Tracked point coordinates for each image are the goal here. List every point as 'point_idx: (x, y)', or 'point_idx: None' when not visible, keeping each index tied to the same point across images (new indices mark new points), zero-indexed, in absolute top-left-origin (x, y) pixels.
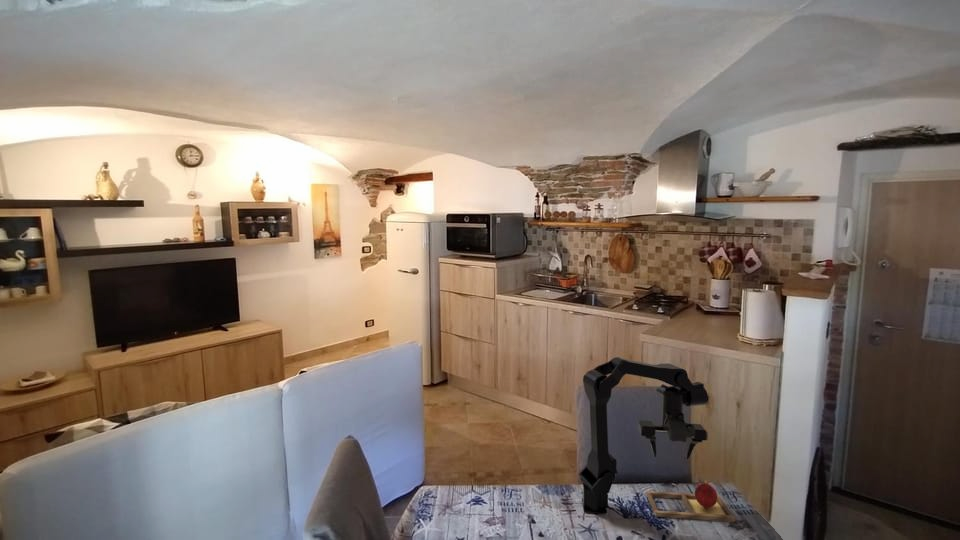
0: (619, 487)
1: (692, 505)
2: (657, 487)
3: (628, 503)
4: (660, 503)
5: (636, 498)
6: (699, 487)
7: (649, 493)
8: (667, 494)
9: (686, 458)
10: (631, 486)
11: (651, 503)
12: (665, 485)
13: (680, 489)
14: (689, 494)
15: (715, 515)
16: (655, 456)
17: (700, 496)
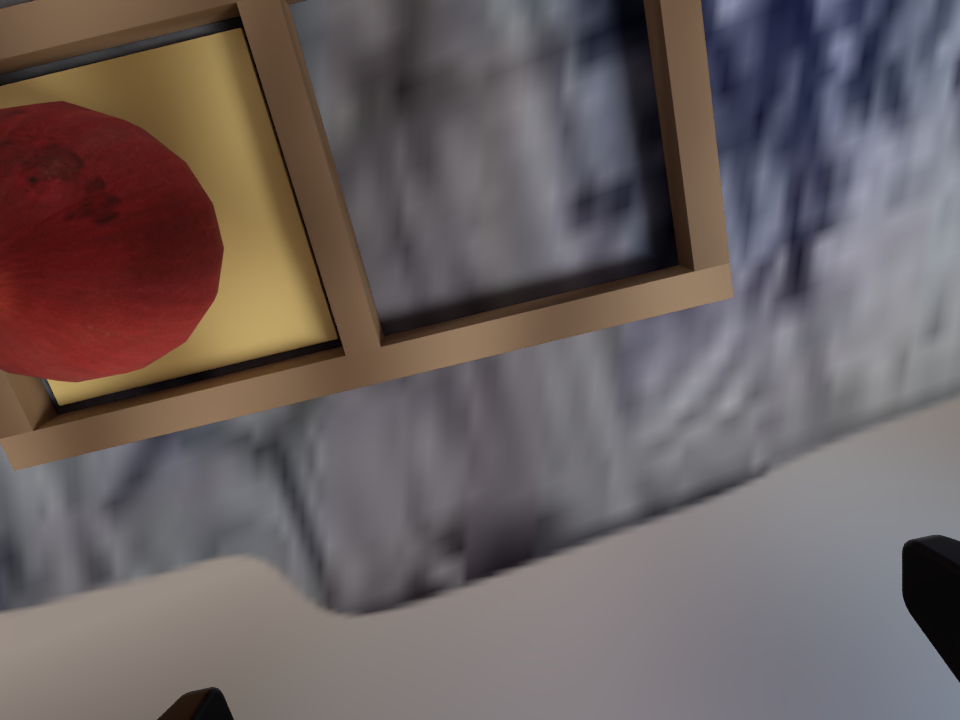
0: (951, 335)
1: (279, 234)
2: (596, 460)
3: (911, 51)
4: (590, 171)
5: (816, 184)
6: (103, 225)
7: (705, 255)
8: (521, 311)
9: (218, 706)
10: (834, 393)
11: (704, 51)
12: (521, 520)
13: (389, 500)
14: (302, 383)
15: (17, 28)
16: (930, 538)
17: (127, 137)
